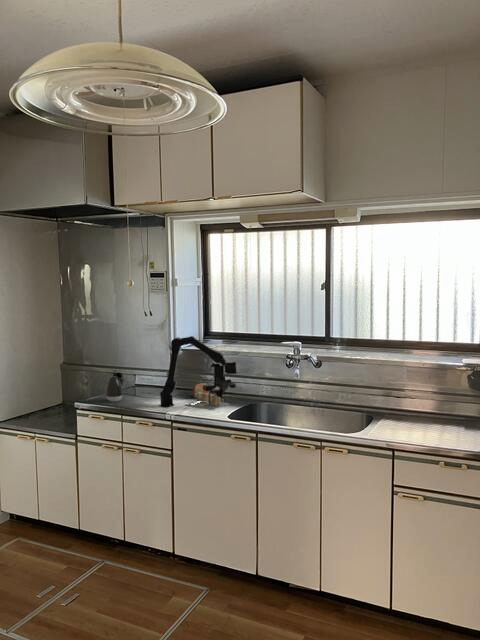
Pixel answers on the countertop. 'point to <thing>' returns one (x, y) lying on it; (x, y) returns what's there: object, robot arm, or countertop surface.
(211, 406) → the card
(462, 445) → the countertop surface
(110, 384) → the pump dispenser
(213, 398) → the fence gate
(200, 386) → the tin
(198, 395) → the fence fixed
